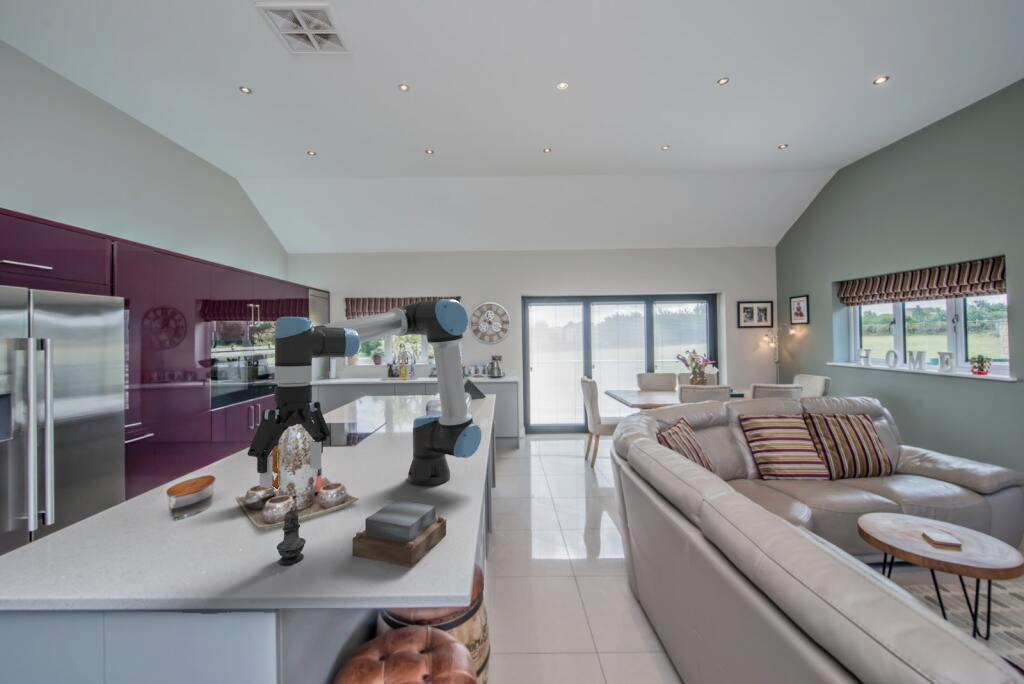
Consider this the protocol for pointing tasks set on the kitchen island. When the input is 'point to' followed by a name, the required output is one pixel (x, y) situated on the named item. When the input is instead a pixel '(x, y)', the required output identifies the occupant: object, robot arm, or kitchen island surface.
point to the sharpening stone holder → (400, 533)
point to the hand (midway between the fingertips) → (292, 477)
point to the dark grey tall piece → (291, 541)
